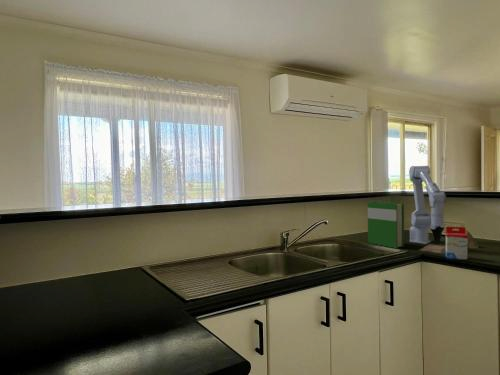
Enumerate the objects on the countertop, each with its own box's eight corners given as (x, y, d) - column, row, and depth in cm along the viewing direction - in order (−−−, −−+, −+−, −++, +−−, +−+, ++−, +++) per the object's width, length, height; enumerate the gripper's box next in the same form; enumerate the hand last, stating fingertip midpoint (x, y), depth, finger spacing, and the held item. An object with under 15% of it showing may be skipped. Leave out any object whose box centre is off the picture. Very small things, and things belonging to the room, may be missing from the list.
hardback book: (404, 247, 194) (404, 203, 193) (396, 249, 189) (396, 204, 188) (375, 242, 208) (375, 201, 207) (368, 244, 204) (367, 202, 202)
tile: (429, 247, 190) (424, 250, 184) (429, 244, 190) (424, 247, 184) (445, 249, 184) (441, 252, 178) (445, 246, 184) (441, 249, 178)
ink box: (446, 258, 167) (446, 227, 166) (445, 256, 172) (445, 226, 171) (467, 260, 164) (467, 228, 163) (465, 257, 169) (465, 226, 168)
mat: (418, 250, 185) (418, 249, 185) (426, 246, 194) (426, 246, 194) (445, 254, 176) (445, 253, 176) (452, 249, 185) (452, 249, 185)
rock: (483, 243, 188) (464, 237, 197) (480, 231, 184) (461, 226, 193) (472, 257, 185) (453, 251, 193) (469, 246, 181) (450, 240, 190)
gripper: (441, 217, 178) (441, 244, 178) (449, 214, 188) (449, 239, 189) (426, 216, 183) (426, 242, 183) (435, 213, 193) (435, 238, 194)
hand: (437, 241), depth 186 cm, fingers closed
